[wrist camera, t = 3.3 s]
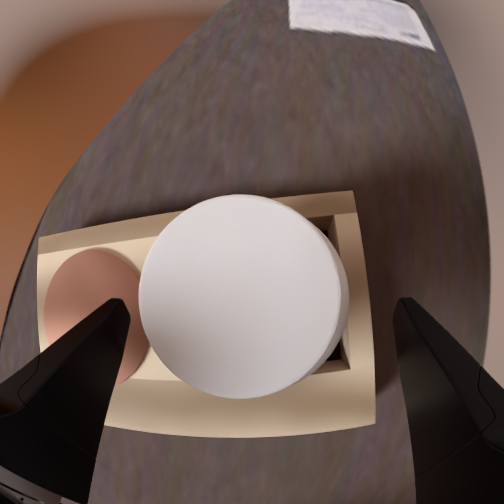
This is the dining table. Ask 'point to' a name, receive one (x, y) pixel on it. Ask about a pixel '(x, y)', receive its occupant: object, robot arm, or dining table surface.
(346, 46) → the dining table surface
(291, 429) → the board
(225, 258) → the pill bottle
